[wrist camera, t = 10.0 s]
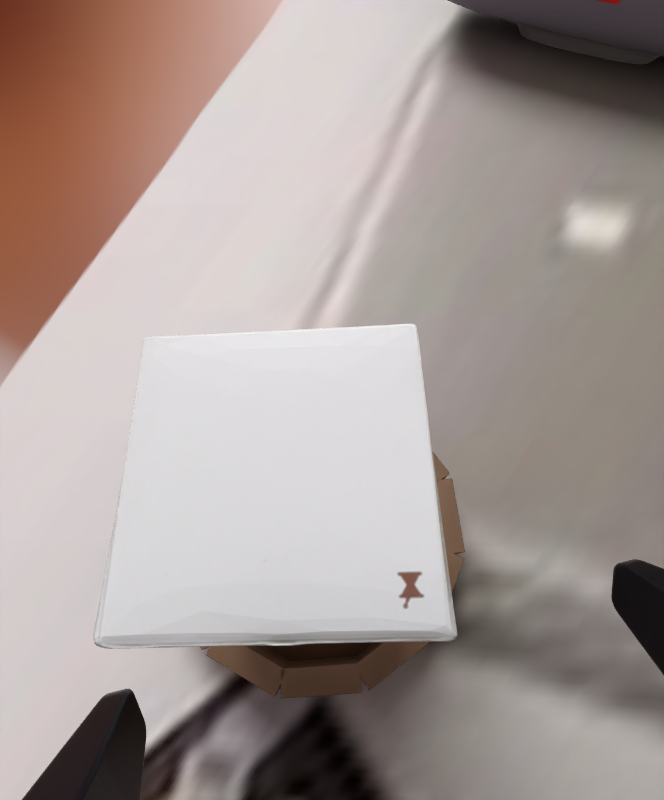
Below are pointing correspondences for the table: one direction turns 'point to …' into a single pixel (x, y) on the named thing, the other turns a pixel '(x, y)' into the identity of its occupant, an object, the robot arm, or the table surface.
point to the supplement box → (278, 495)
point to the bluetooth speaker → (586, 25)
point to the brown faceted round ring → (339, 662)
